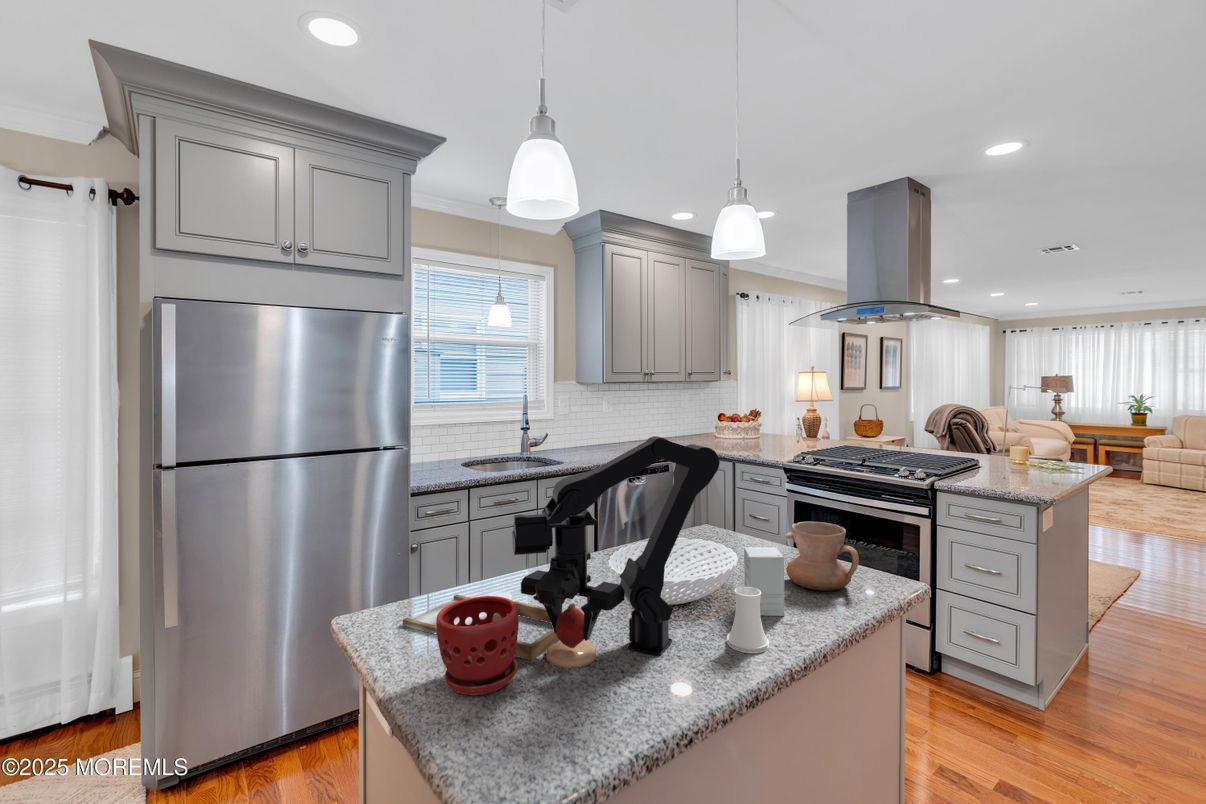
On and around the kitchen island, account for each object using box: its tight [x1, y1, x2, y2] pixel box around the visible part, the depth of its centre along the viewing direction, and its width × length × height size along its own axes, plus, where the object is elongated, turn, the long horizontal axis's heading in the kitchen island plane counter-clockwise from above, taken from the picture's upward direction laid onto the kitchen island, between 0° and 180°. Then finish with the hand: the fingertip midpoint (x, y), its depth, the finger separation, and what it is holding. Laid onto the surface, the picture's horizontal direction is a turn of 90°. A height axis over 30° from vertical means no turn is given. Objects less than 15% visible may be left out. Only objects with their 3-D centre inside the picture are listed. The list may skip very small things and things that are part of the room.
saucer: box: [545, 640, 598, 669], centre depth 100 cm, size 9×9×1 cm
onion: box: [556, 602, 585, 648], centre depth 100 cm, size 6×6×8 cm
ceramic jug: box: [784, 521, 860, 592], centre depth 135 cm, size 18×14×14 cm
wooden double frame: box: [402, 594, 560, 661], centre depth 113 cm, size 32×16×2 cm, turn 62°
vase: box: [726, 586, 770, 654], centre depth 104 cm, size 8×8×10 cm
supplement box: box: [743, 546, 785, 617], centre depth 121 cm, size 7×7×13 cm
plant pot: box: [436, 595, 520, 696], centre depth 92 cm, size 13×13×12 cm
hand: (571, 636), depth 100 cm, fingers closed on onion, 6 cm apart
